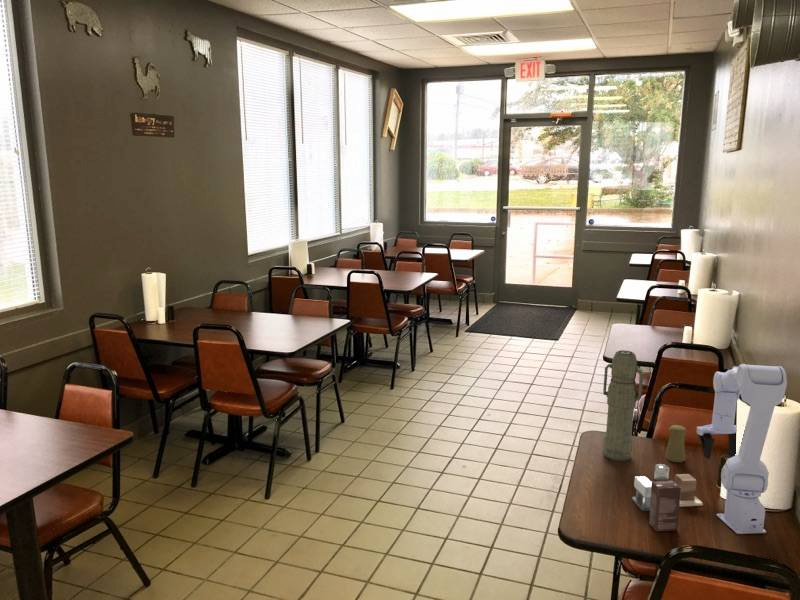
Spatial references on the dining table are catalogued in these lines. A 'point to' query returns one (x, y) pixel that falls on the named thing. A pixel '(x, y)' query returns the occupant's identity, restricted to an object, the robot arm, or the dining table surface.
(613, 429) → the green thermos bottle
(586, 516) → the dining table surface
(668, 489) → the box
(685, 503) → the birch pad
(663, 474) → the round canister
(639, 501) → the mounted unit
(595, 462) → the dining table surface
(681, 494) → the walnut block
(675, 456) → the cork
